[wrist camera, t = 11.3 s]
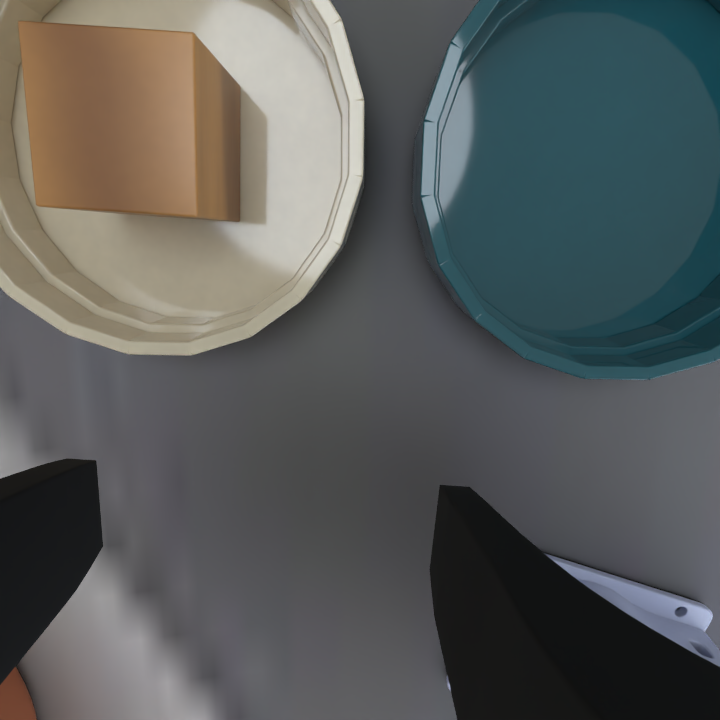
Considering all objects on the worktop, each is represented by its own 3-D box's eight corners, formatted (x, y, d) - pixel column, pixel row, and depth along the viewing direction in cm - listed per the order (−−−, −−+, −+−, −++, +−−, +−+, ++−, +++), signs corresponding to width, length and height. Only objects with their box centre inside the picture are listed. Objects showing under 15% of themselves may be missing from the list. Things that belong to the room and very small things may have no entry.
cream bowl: (417, 24, 16) (430, -33, 13) (303, 377, 19) (289, 407, 16) (33, -122, 15) (-64, -226, 12) (-19, 270, 18) (-108, 278, 15)
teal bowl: (860, 45, 16) (994, -7, 12) (672, 396, 19) (737, 432, 16) (495, -102, 15) (532, -200, 12) (362, 290, 18) (360, 302, 15)
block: (240, 85, 16) (193, 30, 12) (240, 222, 17) (197, 217, 13) (110, 76, 16) (16, 19, 12) (118, 213, 17) (34, 206, 13)
